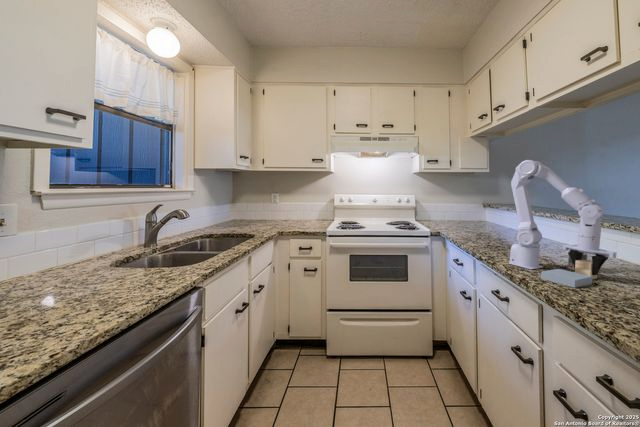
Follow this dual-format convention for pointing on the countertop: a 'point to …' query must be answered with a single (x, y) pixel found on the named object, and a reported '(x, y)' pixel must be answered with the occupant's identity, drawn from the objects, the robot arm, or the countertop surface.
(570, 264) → the pill bottle
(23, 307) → the countertop surface
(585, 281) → the slate-blue block
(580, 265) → the maple cube
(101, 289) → the countertop surface
